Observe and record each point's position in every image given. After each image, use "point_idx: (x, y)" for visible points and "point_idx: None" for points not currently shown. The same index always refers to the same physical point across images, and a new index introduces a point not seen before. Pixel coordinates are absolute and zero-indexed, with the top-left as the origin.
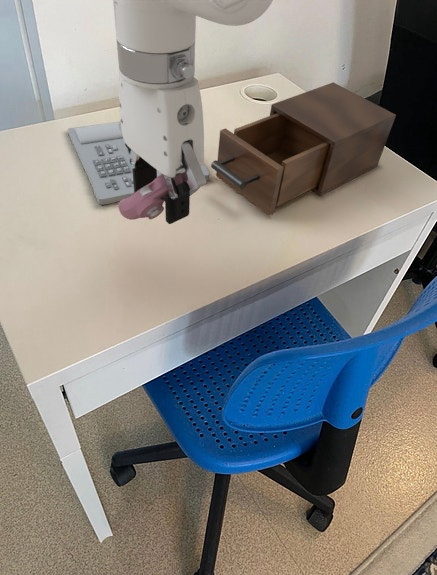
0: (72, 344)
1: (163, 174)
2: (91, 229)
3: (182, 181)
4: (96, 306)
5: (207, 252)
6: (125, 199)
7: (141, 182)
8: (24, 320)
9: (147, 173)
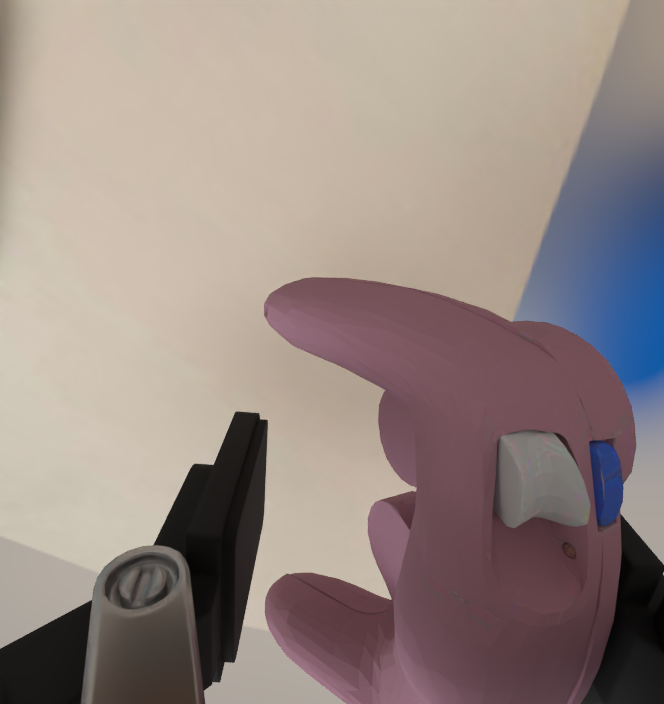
0: (381, 576)
1: (470, 693)
2: (71, 362)
3: (613, 607)
4: (331, 499)
5: (381, 145)
6: (325, 687)
7: (251, 564)
8: None
9: (242, 564)
